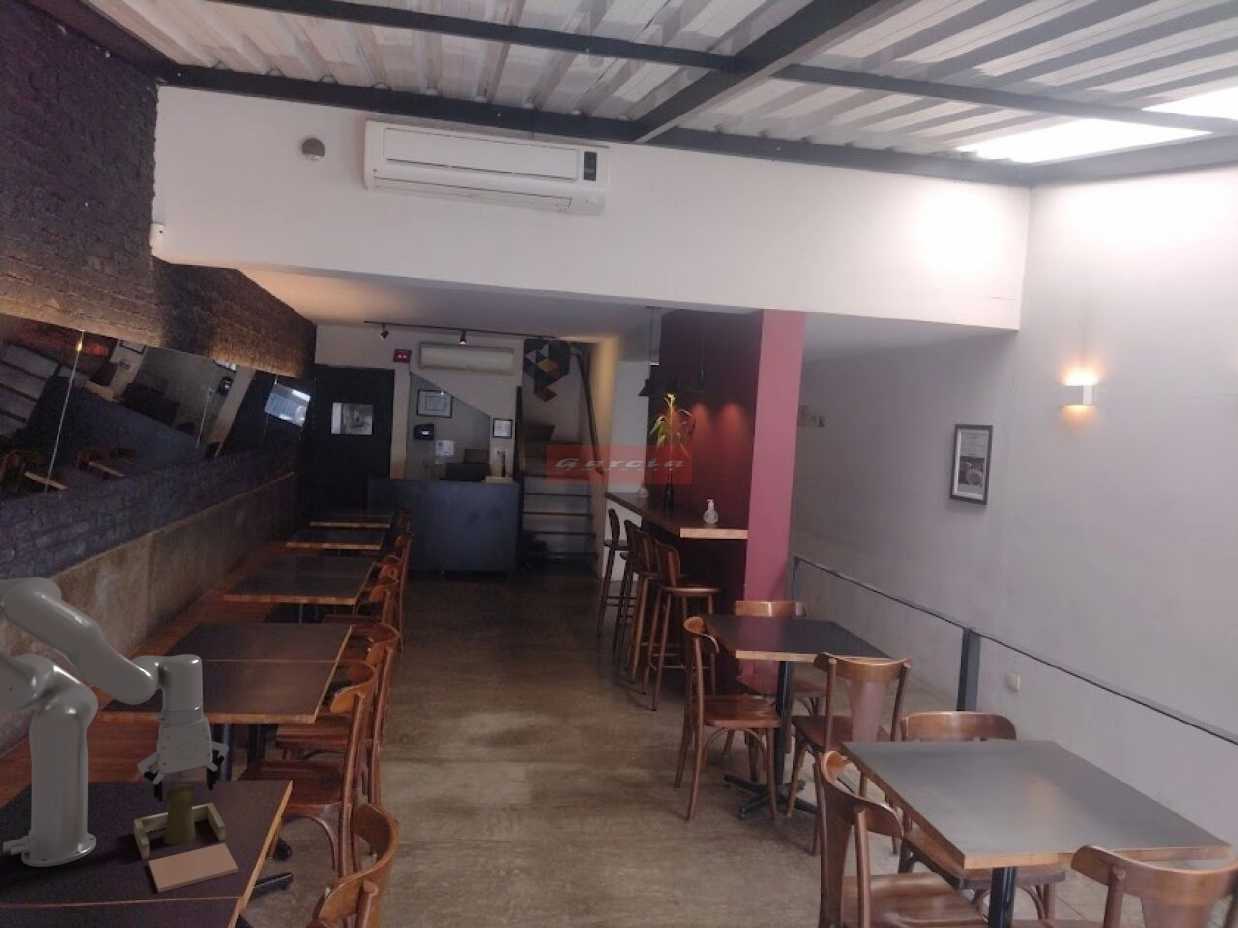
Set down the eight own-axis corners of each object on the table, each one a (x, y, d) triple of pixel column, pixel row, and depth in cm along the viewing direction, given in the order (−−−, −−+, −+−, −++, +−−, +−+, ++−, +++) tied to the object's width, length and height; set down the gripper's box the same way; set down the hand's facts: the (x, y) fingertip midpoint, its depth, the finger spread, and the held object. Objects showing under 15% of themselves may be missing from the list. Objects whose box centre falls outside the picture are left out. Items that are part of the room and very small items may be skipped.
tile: (158, 892, 158) (158, 888, 158) (148, 864, 168) (148, 860, 168) (238, 871, 167) (238, 867, 167) (224, 846, 176) (224, 842, 176)
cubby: (142, 859, 170) (142, 844, 170) (133, 832, 180) (133, 819, 180) (225, 839, 179) (225, 825, 179) (212, 815, 190) (212, 802, 189)
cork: (182, 846, 176) (183, 794, 175) (156, 842, 177) (157, 790, 176) (201, 832, 182) (202, 782, 181) (177, 829, 183) (178, 779, 182)
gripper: (139, 728, 170) (141, 811, 171) (231, 711, 180) (233, 789, 181) (134, 717, 176) (136, 798, 177) (223, 701, 186) (225, 777, 187)
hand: (185, 793), depth 179 cm, fingers open, 9 cm apart
